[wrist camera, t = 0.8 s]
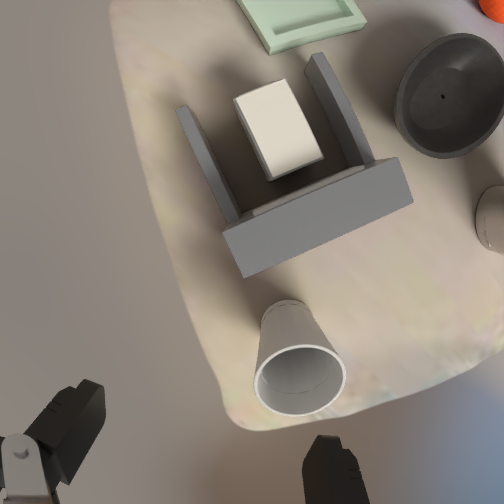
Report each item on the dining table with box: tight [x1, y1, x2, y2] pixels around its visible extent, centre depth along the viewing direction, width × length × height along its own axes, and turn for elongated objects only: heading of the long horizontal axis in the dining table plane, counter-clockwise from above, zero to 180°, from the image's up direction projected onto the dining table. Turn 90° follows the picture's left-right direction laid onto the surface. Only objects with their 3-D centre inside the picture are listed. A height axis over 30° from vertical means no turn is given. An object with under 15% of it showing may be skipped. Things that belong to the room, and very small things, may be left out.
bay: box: [175, 52, 413, 278], centre depth 27 cm, size 15×16×10 cm
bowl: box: [394, 33, 504, 159], centre depth 27 cm, size 12×22×6 cm, turn 131°
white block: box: [233, 78, 324, 181], centre depth 28 cm, size 5×9×8 cm, turn 24°
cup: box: [254, 300, 346, 417], centre depth 30 cm, size 8×8×12 cm
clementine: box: [478, 0, 504, 24], centre depth 22 cm, size 8×7×7 cm
